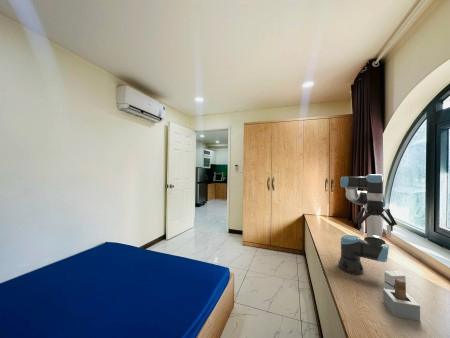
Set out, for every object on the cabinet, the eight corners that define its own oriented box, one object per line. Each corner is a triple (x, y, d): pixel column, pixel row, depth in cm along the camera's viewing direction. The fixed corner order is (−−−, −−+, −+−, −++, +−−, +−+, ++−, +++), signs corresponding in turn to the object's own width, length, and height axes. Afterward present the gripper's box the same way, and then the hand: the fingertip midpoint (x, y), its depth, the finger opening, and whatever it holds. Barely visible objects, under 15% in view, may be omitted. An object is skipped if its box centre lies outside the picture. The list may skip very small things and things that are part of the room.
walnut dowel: (393, 307, 94) (393, 278, 94) (402, 308, 93) (402, 279, 93) (398, 312, 90) (397, 283, 90) (408, 314, 89) (407, 284, 89)
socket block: (383, 301, 98) (383, 288, 98) (406, 305, 95) (406, 292, 95) (394, 316, 88) (394, 301, 88) (420, 321, 85) (420, 305, 85)
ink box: (391, 296, 102) (391, 276, 102) (383, 290, 107) (383, 271, 107) (406, 296, 102) (406, 275, 102) (397, 290, 107) (397, 270, 107)
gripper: (353, 199, 108) (353, 235, 108) (404, 201, 101) (405, 239, 101) (348, 198, 116) (348, 230, 115) (396, 199, 108) (396, 235, 108)
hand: (375, 235), depth 108 cm, fingers open, 13 cm apart
